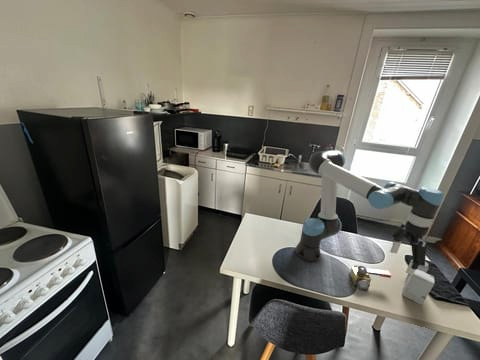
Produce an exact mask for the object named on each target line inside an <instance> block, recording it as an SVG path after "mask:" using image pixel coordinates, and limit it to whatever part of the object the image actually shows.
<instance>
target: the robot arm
mask: <svg viewBox="0 0 480 360" xmlns="http://www.w3.org/2000/svg"><path fill="white" fill-rule="evenodd" d="M308 159H309V160H308V166H309V168H310V170H311V171H312V172H314V173H315V174H317V175H319V176H320V177H321V190H320V192H321V193H320V195H321V196H320V212H319V213H318V214H317V218H315V217H314V218H313V217H310V218H307V219H305V220H304V222H303V224H302V229H301V234H300V239H299V242H298V243H297V245H296V246H295V251H294V252H295V255H296V254H297V255H296V256H297V257H298V258H299V259H300V260H302V261H304V262H306V263H316V262H319V261H320V258H321V248H320V246H321V242H322V240H324V239H327V238H329V237H332V236H333V237H334V236H335V235H337V234H338V233H339V232H341V230H342V221H340V220H341V219H340V218H339V216H338V214H337V213H336V212H337V211H336V210H337V209H336V208H337V189H338V184H339V185H340V186H343V187H345V188H346V189H348V190H350V191H352V192H353V193H355V194H357V195H359V196H360V197H363V198H365V199H367V201H368V203H369V204H370V206H371V207H373V208H374V209H377V210H382V209H387V208H390V207H392V206H394V205H397V204H404V205H405V206H408V207H411V210H410V211H409V214H408V217H407V220H406V222H405V223H404V224H403V223H401V224H400V227H399V228H398V229H396V231H395V232H394V233H393V234H391V236H392V237H393V241H392V246H391V247H390V248H391V249H390V250H389V251H390V252H389V253H391V254H397V253H398V251H399V250H400V248H401V247H400V246H401V245H402V241H405V240H407V241H408V242H409V245H410V246H411V253H412V255H411V256H412V259H411V260H410V262H409V264H408V266H407V268H406V270H405V273H406V274H408V273H409V274H414V272H415V270H417V268H418V266H419V265H422V266H425V261H426V256H427V246H428V245H429V244H428V242H427V241H424V240H423V237H424V236H426V235H427V234H428V231H429V230H430V226H431V225H432V223H433V220H434V218H435V217H436V214H437V212H438V210H439V208H440V206H441V205H442V201H443V198H444V195H445V194H444V193H443V192H442V191H440V190H438V189H436V188H433V187H432V188H431V187H429V186H425V187H424V186H423V187H420V188H419V189H416V188H413V187H410V186H406V185H404V184H401V183H398V182H393V181H389V182H387V183H386V184H385V185H384V186H381V185H378V184H377V183H375V182H372V181H370V180H369V179H366V178H365V177H362V176H361V175H357V174H356V173H353V172H352V171H349V170H347V169H345V168H343V167H344V166H345V164H346V158H345V155H344V154H343V153H342V152H341V151H339V150H335V149H331V150H330V149H329V150H322V151H321V150H320V151H316V152H314V153H313V154H311V156H310V158H308Z"/></svg>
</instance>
